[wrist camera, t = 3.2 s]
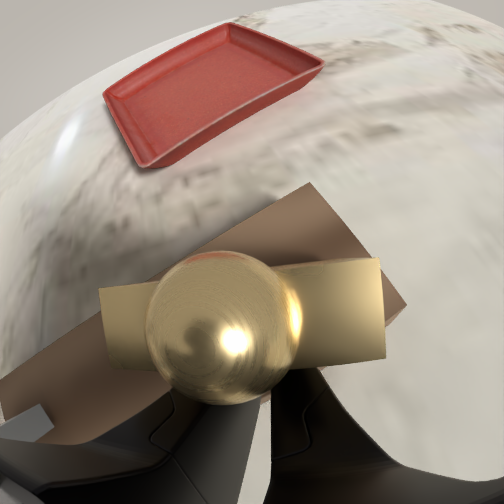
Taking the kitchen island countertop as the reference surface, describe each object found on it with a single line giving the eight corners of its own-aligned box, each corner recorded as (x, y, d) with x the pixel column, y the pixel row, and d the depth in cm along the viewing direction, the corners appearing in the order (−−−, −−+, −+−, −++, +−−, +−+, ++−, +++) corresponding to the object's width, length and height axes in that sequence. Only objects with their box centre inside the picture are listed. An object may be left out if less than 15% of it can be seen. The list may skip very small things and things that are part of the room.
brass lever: (343, 305, 13) (407, 421, 3) (230, 316, 14) (71, 412, 4) (337, 248, 13) (399, 220, 3) (223, 262, 14) (43, 269, 4)
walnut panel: (390, 323, 16) (407, 304, 12) (62, 479, 15) (25, 483, 12) (314, 219, 20) (309, 181, 16) (32, 389, 19) (-4, 382, 16)
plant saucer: (235, 39, 34) (228, 19, 31) (332, 89, 25) (329, 60, 22) (113, 110, 33) (100, 92, 30) (160, 195, 24) (140, 171, 21)
